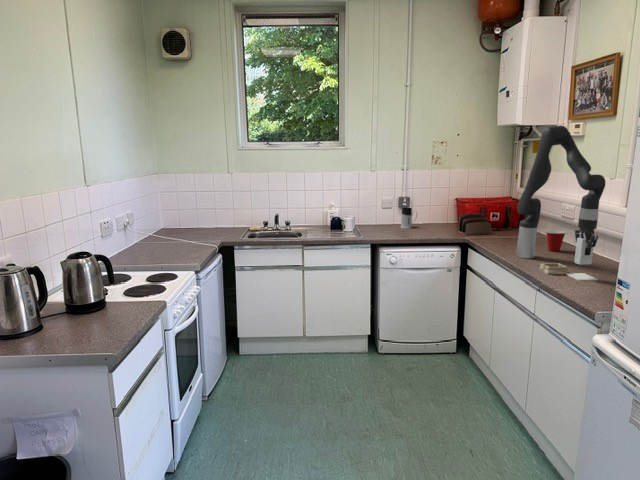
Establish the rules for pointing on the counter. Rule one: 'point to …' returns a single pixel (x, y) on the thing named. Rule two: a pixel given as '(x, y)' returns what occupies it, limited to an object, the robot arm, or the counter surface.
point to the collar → (553, 268)
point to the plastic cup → (555, 240)
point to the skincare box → (582, 253)
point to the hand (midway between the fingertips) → (583, 253)
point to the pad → (581, 276)
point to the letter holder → (474, 224)
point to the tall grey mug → (407, 217)
